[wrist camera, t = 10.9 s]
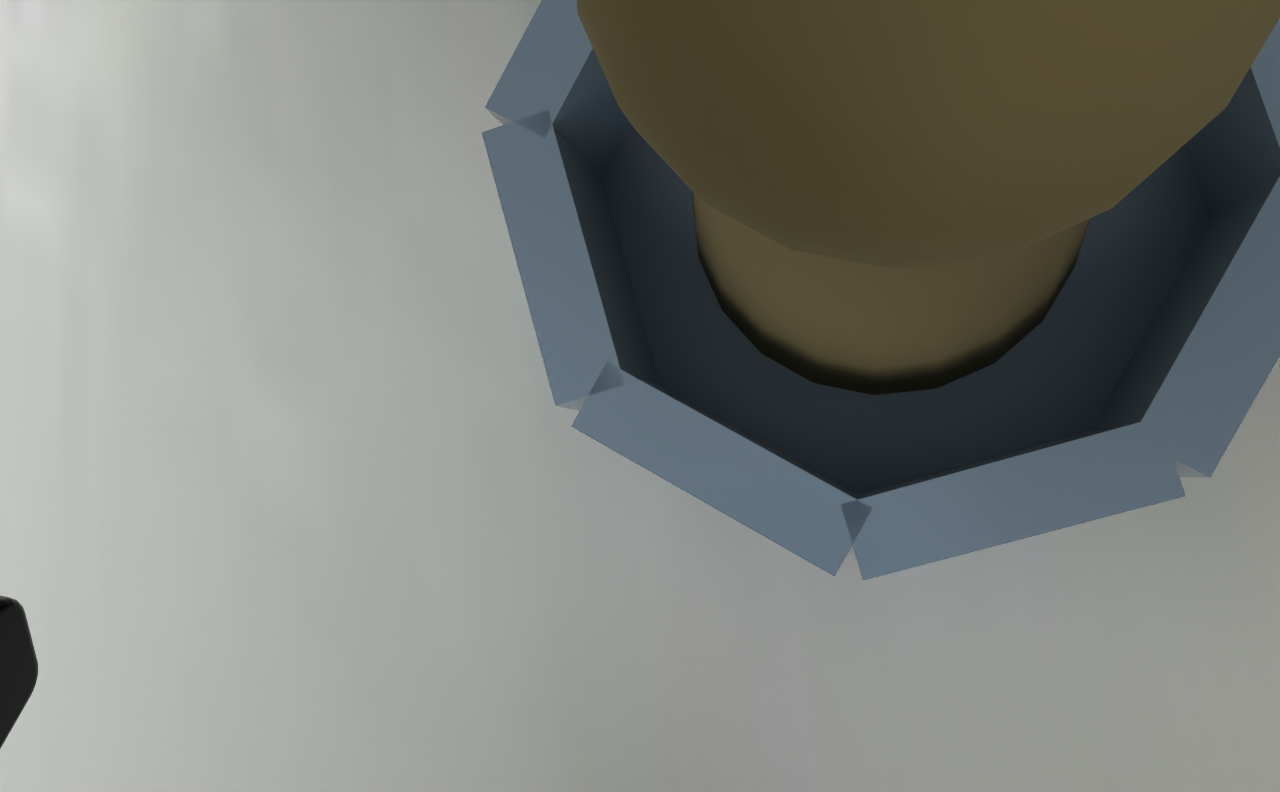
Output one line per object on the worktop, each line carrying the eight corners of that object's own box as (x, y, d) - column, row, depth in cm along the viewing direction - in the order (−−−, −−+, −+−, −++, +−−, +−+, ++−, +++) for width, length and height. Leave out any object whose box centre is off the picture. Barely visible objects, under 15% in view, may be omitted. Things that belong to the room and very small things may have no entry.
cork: (940, -62, 17) (1082, -924, 7) (1171, 251, 16) (1776, -150, 6) (622, 158, 18) (282, -290, 7) (826, 469, 17) (779, 481, 6)
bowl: (1365, 60, 17) (1516, -62, 13) (1027, 657, 17) (1075, 713, 13) (760, -193, 19) (734, -363, 15) (472, 345, 20) (375, 314, 16)
